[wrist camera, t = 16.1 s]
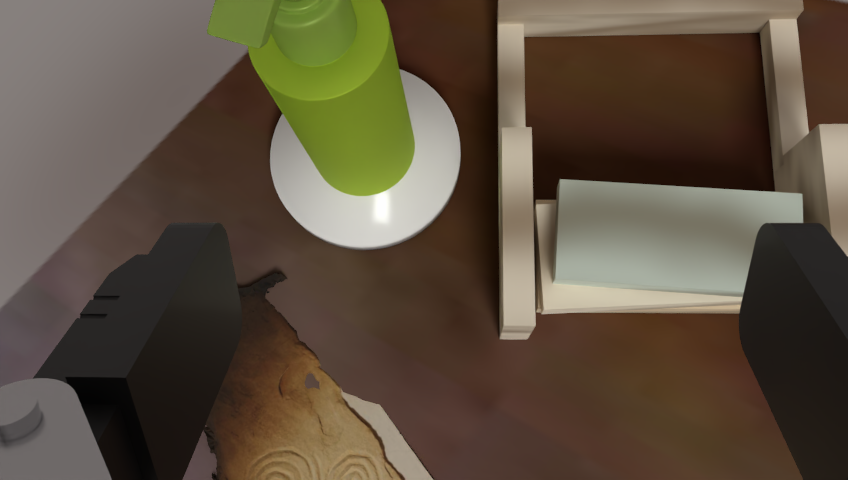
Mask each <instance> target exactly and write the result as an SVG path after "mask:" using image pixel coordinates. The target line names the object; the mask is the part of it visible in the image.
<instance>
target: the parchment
mask: <svg viewBox="0 0 848 480" xmlns="http://www.w3.org/2000/svg"><path fill="white" fill-rule="evenodd" d="M285 279H286V277H285V276H283V275H282V274H277V273H274V274H273V275H271V276H270V275H268V277H267V278H263V279H261V280H260V281H259V282H257V283H255V284H253V285H251V286H250V287H246V288H238V292H239V297H240V302H241V309H242V328H241V335H240V340H239V344H238V347H237V349H236V351H235V354H234V356H233V359H232V361H231V363H230V366H229V368H228V371H227V373H226V376H225V378H224V380H223V383H222V385H221V388H220V390H219V392H218V395H217V397H216V400H215V402H214V404H213V407H212V409H211V412H210V414H209V417H208V419H207V421H206V424H205V425H207V427H205V426H204V429H203V430H204V432H205V434H206V436H207V441H208V445H209V447H210V449H211V453H215V454H216V459H217V468H216V470H217V477H216V478H215V475H214V474H213V473H212V478H213V480H433V478H432V477H431V476H430V475H429V473H428V472H427V471H426V469H425V468H424V467H423V465H422V463H421V462H420V461H419V460H418V458H417V456H416V455H415V454H414V452H413V451H412V450H411V448H410V447H409V446H408V444H407V442H406V441H405V440H404V438H403V437H402V435H401V434H400V433H399V431H398V430H397V428H396V427H395V425H394V424H393V422H392V421H391V420H390V419H389V417H388V416H387V414H386V413H385V412H384V410H383V408H382V407H381V406H380V405H379V404H374V403H371V402H367V401H363V400H361V399H359V398H357V397H355V396H352V395H349V394H346V393H344V392H342V388H341V387H340V386H339V385H338V383H337V382H336V381H335V380H334V379H333V378H332V377H331V376H330V375H329V374H327V373H326V372H325V371H324V370H322V369H321V368H320V362H319V359H318V357H317V356H316V354H315V353H314V352H313V351H312V350H311V349H309V348H308V347H307V345H306V344H305V343H303V342H301V341H299V339H298V336H297V331H296V330H294V328H293V327H292V326H290V325H289V323H288V322H287V320H286V319H285V318H284V317H283V316H282V315H281V313H279V312H277V310H276V309H275V307H274V306H273V305H272V304H270V302H269V301H268V300H267V299H265V294H266V293H269V292H268V291H267V289H268V288H270V287H274V285H275V284H276V282H277V283H278V282H282V281H284V280H285ZM266 291H267V292H266ZM308 373H313V375H314V376H315V378H316V380H317V381H320V384H319V385H320V390H319V389H317V388H310V389H307V388H306V387H305V379H306V376H307V374H308Z"/></svg>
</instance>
